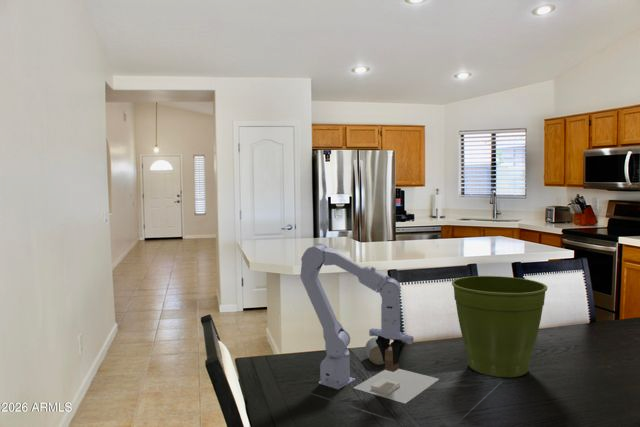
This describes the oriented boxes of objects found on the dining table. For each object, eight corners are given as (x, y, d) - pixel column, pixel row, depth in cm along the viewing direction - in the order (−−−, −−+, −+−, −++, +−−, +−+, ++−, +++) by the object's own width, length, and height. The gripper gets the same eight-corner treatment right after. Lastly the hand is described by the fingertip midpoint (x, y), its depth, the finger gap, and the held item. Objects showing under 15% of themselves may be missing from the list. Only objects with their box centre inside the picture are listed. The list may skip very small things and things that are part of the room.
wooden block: (393, 372, 151) (393, 351, 151) (384, 369, 153) (384, 349, 153) (398, 369, 154) (398, 348, 153) (389, 366, 156) (389, 346, 155)
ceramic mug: (369, 366, 170) (369, 344, 169) (365, 358, 178) (365, 337, 177) (399, 365, 171) (400, 343, 170) (394, 357, 179) (394, 336, 178)
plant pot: (551, 391, 148) (552, 295, 146) (448, 379, 157) (448, 290, 156) (541, 357, 176) (542, 277, 174) (454, 349, 185) (454, 273, 184)
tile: (400, 386, 152) (388, 394, 146) (383, 382, 155) (370, 389, 150) (400, 382, 152) (388, 390, 146) (383, 378, 155) (370, 385, 150)
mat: (405, 404, 140) (405, 403, 140) (352, 389, 151) (352, 387, 151) (439, 380, 157) (439, 378, 157) (390, 367, 168) (390, 366, 168)
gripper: (418, 319, 151) (418, 363, 152) (377, 312, 160) (377, 353, 161) (406, 325, 145) (407, 370, 146) (365, 317, 154) (365, 360, 155)
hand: (390, 362), depth 153 cm, fingers closed on wooden block, 3 cm apart
